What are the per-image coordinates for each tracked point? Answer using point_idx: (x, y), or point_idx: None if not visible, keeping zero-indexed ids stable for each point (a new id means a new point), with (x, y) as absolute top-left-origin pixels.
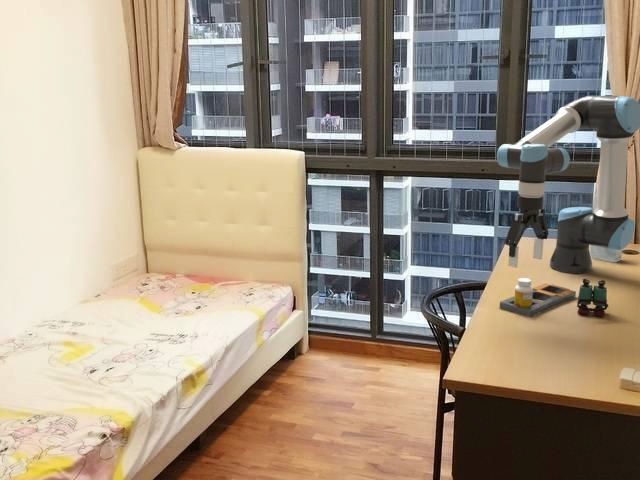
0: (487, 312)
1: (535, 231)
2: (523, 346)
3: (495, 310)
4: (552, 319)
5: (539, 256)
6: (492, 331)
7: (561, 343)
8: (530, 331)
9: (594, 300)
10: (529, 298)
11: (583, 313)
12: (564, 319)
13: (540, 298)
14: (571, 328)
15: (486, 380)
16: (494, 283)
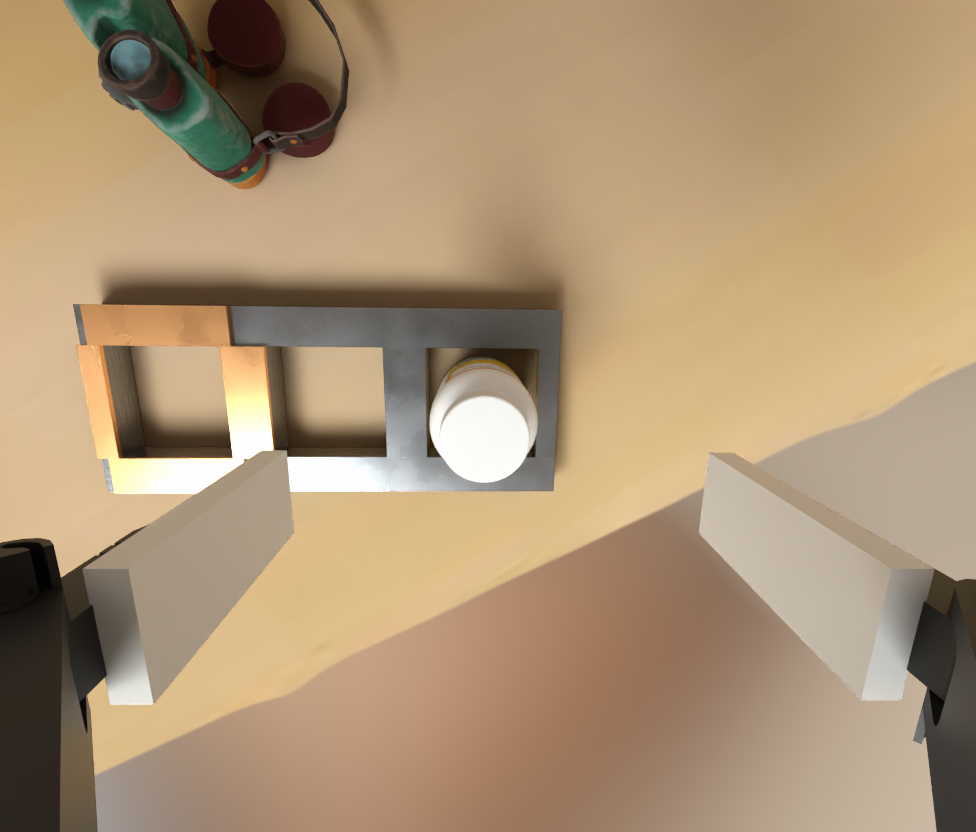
0: (640, 480)
1: (90, 824)
2: (921, 113)
3: (591, 471)
4: (499, 209)
5: (274, 476)
6: (838, 327)
7: None
8: (725, 198)
9: (190, 59)
10: (496, 365)
11: (326, 103)
12: (452, 163)
13: (285, 416)
14: (543, 61)
15: None
16: (275, 680)
